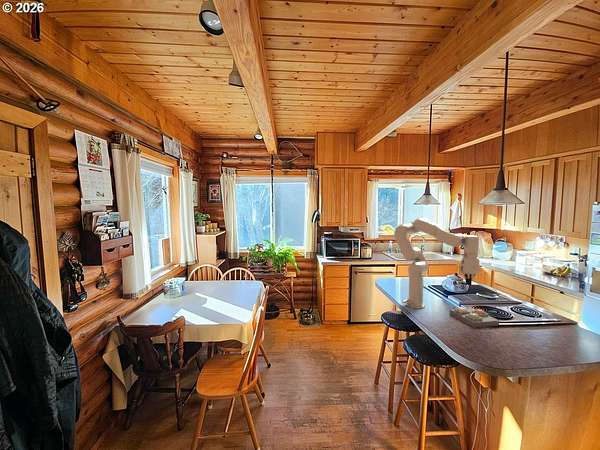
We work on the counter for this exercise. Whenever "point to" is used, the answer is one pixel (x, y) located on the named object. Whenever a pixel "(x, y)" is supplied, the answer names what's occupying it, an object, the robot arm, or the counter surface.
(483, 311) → the terracotta button
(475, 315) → the sage button
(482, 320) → the button panel
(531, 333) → the counter surface
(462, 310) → the cream button
